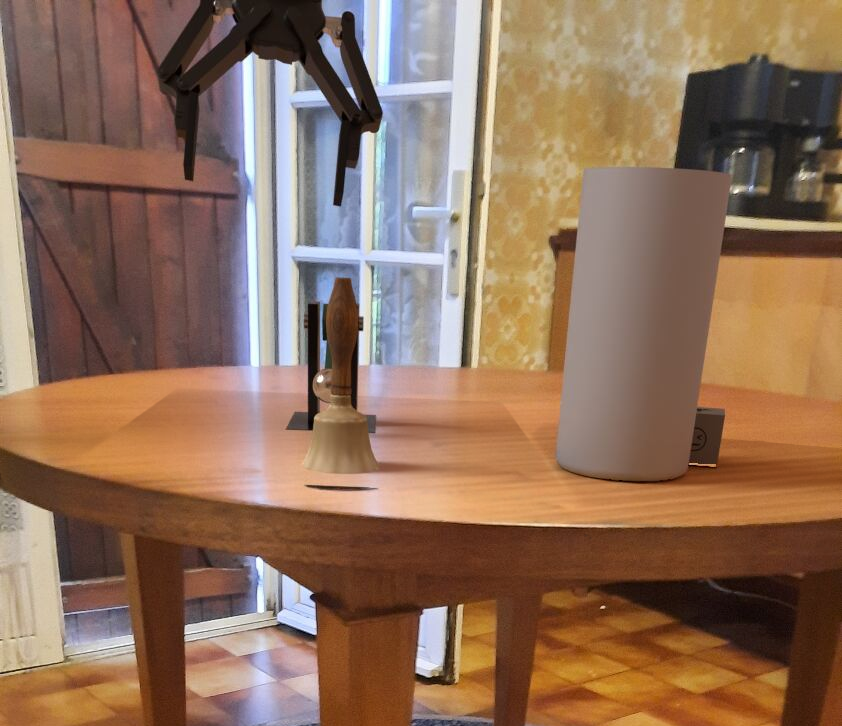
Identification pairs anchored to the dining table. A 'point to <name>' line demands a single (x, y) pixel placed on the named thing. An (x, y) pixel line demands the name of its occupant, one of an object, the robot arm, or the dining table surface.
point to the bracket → (313, 325)
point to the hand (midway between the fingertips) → (264, 186)
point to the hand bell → (341, 399)
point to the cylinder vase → (639, 319)
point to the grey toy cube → (707, 435)
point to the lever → (325, 375)
